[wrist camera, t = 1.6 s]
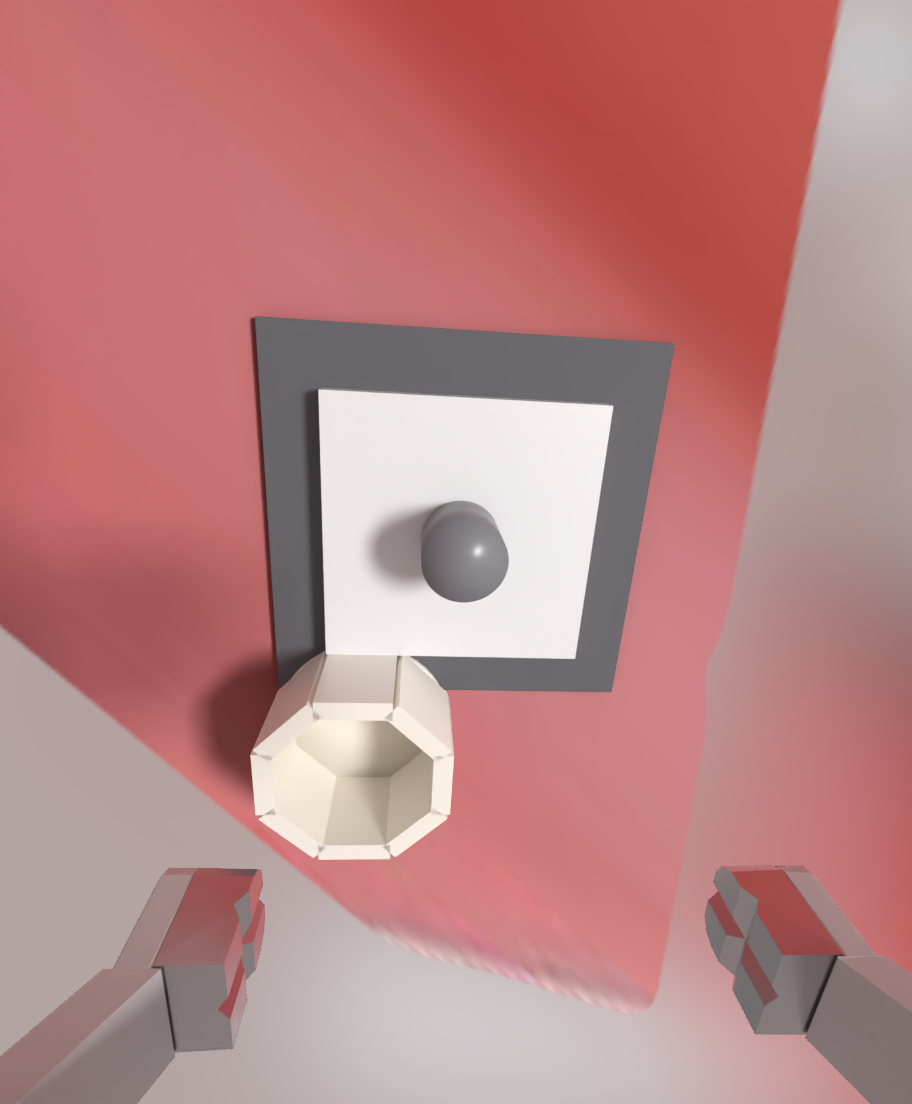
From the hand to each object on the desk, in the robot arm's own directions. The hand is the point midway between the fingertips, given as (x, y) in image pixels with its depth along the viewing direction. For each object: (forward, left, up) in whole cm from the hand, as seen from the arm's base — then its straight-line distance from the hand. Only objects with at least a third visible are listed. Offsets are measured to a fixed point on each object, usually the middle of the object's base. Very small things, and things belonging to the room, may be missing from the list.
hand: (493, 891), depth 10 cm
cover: (0, +1, -21) cm, 21 cm away
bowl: (+12, -4, -21) cm, 25 cm away
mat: (0, +1, -21) cm, 21 cm away
